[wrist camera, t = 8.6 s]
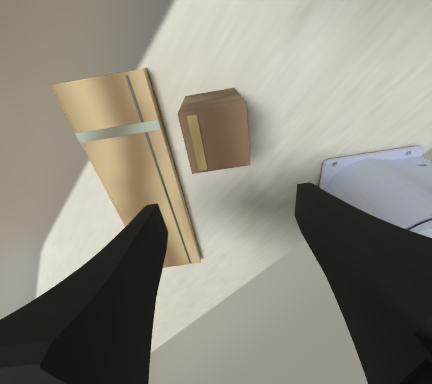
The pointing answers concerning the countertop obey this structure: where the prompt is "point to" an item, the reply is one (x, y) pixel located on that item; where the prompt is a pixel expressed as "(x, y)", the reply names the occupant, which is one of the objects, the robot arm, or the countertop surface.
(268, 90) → the countertop surface
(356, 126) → the countertop surface
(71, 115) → the oak board
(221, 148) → the block
